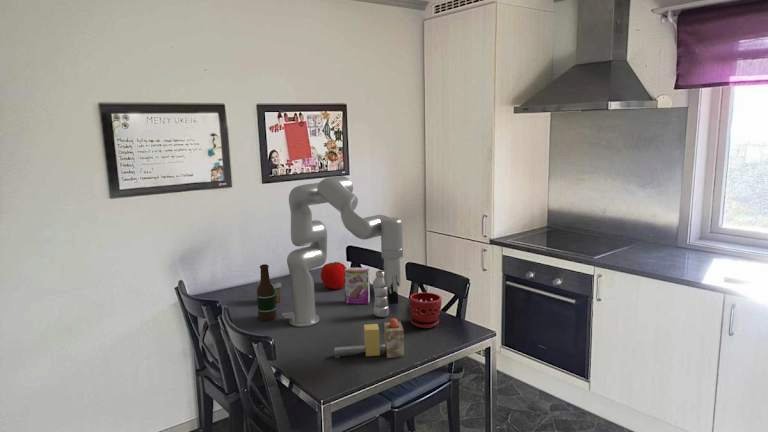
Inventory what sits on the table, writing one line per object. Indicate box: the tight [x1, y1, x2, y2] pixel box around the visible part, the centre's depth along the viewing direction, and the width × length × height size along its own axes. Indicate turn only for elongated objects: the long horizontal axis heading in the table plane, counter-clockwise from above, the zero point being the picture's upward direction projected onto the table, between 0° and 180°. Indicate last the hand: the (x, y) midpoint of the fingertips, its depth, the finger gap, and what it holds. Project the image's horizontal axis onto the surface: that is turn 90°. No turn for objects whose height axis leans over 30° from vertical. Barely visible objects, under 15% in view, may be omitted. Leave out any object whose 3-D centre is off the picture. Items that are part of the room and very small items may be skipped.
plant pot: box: [408, 291, 443, 329], centre depth 208 cm, size 13×13×12 cm
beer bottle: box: [256, 263, 277, 323], centre depth 217 cm, size 8×8×24 cm
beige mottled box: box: [383, 321, 405, 359], centre depth 182 cm, size 6×8×10 cm
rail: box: [334, 343, 386, 359], centre depth 182 cm, size 19×2×3 cm, turn 97°
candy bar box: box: [344, 267, 371, 305], centre depth 235 cm, size 11×5×16 cm, turn 84°
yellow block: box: [363, 323, 381, 357], centre depth 182 cm, size 5×5×10 cm
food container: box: [256, 279, 282, 305], centre depth 237 cm, size 12×6×10 cm, turn 68°
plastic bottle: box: [372, 269, 390, 318], centre depth 217 cm, size 6×7×20 cm
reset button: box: [389, 317, 398, 328], centre depth 182 cm, size 3×3×4 cm
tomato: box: [320, 261, 347, 290], centre depth 258 cm, size 16×14×14 cm
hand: (393, 303), depth 180 cm, fingers closed
